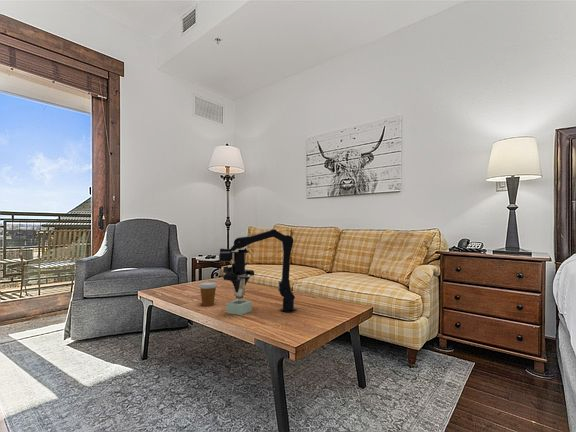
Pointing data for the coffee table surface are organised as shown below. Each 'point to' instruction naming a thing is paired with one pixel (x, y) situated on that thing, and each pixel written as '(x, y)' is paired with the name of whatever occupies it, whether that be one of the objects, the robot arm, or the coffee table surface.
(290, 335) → the coffee table surface
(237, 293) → the beige rectangular block
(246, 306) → the green square frame
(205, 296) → the disposable coffee cup
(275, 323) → the coffee table surface
